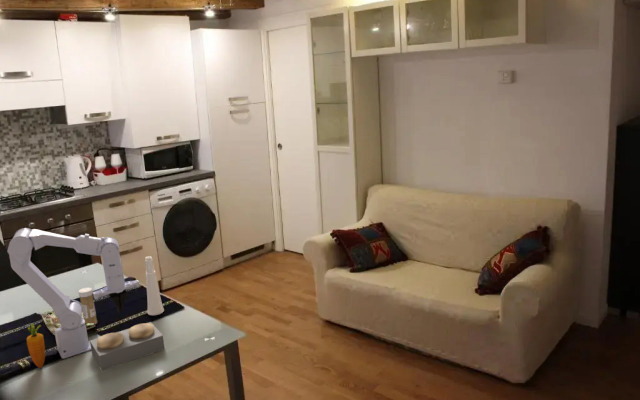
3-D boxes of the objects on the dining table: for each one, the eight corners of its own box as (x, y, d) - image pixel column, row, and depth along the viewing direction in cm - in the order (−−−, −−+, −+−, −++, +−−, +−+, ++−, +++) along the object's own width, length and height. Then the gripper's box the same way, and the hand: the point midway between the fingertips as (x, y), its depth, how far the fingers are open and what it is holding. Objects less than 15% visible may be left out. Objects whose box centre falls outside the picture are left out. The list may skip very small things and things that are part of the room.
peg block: (101, 370, 171) (99, 356, 170) (92, 354, 181) (89, 340, 180) (164, 349, 182) (162, 335, 181) (152, 335, 192) (150, 321, 190)
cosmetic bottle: (143, 314, 208) (136, 259, 202) (154, 307, 213) (147, 253, 207) (157, 316, 205) (149, 260, 200) (167, 309, 211) (160, 254, 205)
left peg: (103, 365, 173) (100, 348, 172) (96, 354, 180) (93, 337, 178) (128, 356, 178) (126, 339, 176) (121, 346, 184) (119, 330, 183)
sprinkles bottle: (98, 324, 201) (93, 290, 198) (85, 328, 199) (79, 293, 195) (95, 319, 205) (90, 286, 202) (82, 323, 203) (77, 289, 199)
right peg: (135, 354, 179) (132, 337, 177) (127, 344, 185) (125, 328, 184) (159, 346, 183) (157, 329, 182) (151, 337, 190) (149, 320, 188)
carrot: (35, 364, 177) (27, 321, 173) (51, 363, 177) (43, 320, 173) (29, 373, 172) (20, 329, 168) (45, 371, 172) (37, 327, 168)
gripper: (94, 284, 176) (101, 323, 180) (139, 272, 184) (145, 309, 187) (88, 277, 182) (95, 315, 185) (133, 266, 189) (139, 302, 193)
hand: (120, 312), depth 187 cm, fingers closed
